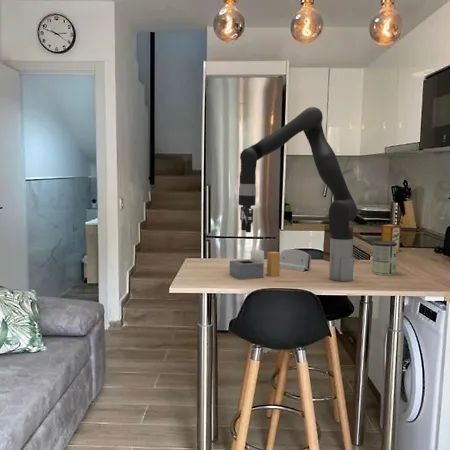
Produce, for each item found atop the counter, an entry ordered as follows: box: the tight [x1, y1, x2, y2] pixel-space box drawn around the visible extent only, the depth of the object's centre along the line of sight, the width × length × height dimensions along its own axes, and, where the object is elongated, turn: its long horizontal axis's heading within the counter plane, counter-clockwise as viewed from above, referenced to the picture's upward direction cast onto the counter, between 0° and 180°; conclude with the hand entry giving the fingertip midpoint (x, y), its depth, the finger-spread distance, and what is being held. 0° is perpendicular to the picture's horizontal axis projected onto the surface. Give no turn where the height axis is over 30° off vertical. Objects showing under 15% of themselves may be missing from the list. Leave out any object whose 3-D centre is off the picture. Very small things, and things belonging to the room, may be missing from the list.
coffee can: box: [371, 240, 397, 276], centre depth 213 cm, size 10×10×14 cm
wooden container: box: [322, 223, 354, 262], centre depth 249 cm, size 15×15×22 cm
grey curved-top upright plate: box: [280, 248, 312, 273], centre depth 224 cm, size 17×5×10 cm, turn 47°
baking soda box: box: [380, 224, 401, 252], centre depth 278 cm, size 10×6×16 cm
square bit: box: [266, 251, 281, 277], centre depth 207 cm, size 4×4×10 cm
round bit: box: [250, 249, 265, 265], centre depth 218 cm, size 6×6×9 cm
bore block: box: [229, 259, 265, 280], centre depth 205 cm, size 11×11×6 cm
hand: (246, 231), depth 210 cm, fingers open, 8 cm apart
